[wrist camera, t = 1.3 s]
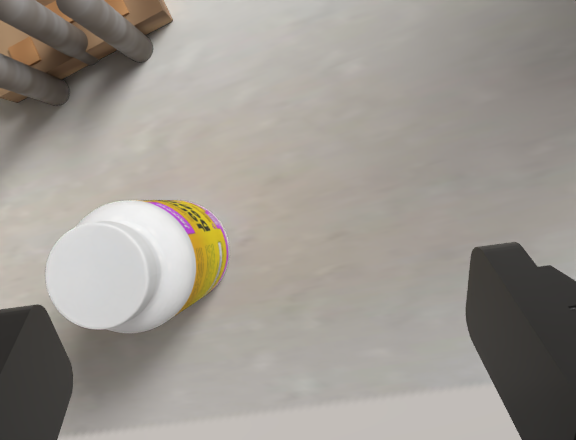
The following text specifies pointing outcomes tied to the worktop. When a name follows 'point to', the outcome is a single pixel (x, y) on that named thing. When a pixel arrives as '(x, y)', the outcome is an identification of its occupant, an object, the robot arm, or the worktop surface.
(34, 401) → the robot arm
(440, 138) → the worktop surface
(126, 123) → the worktop surface
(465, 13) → the worktop surface
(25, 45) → the pin block
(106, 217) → the supplement bottle
